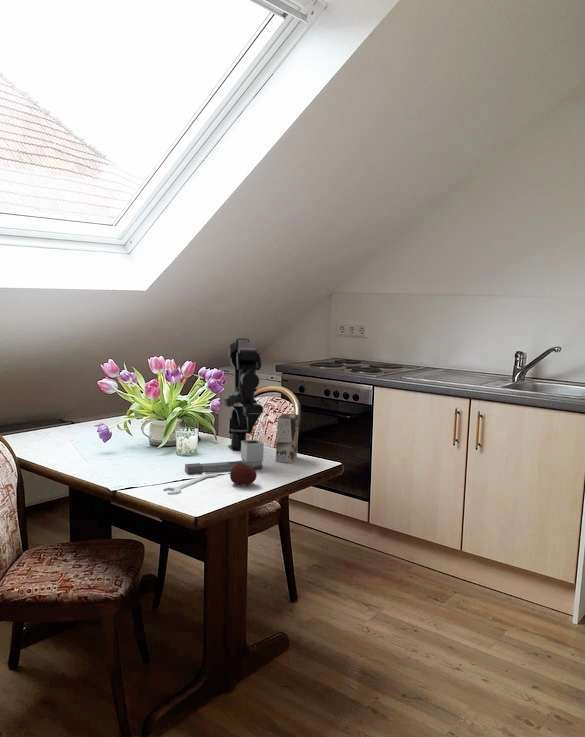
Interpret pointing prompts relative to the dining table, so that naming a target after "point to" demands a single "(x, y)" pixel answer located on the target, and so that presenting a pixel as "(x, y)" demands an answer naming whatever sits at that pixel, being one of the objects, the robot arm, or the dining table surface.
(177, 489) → the wrench
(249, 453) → the socket
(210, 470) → the ratchet
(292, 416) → the coffee box
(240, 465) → the potato
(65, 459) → the dining table surface
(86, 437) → the dining table surface
